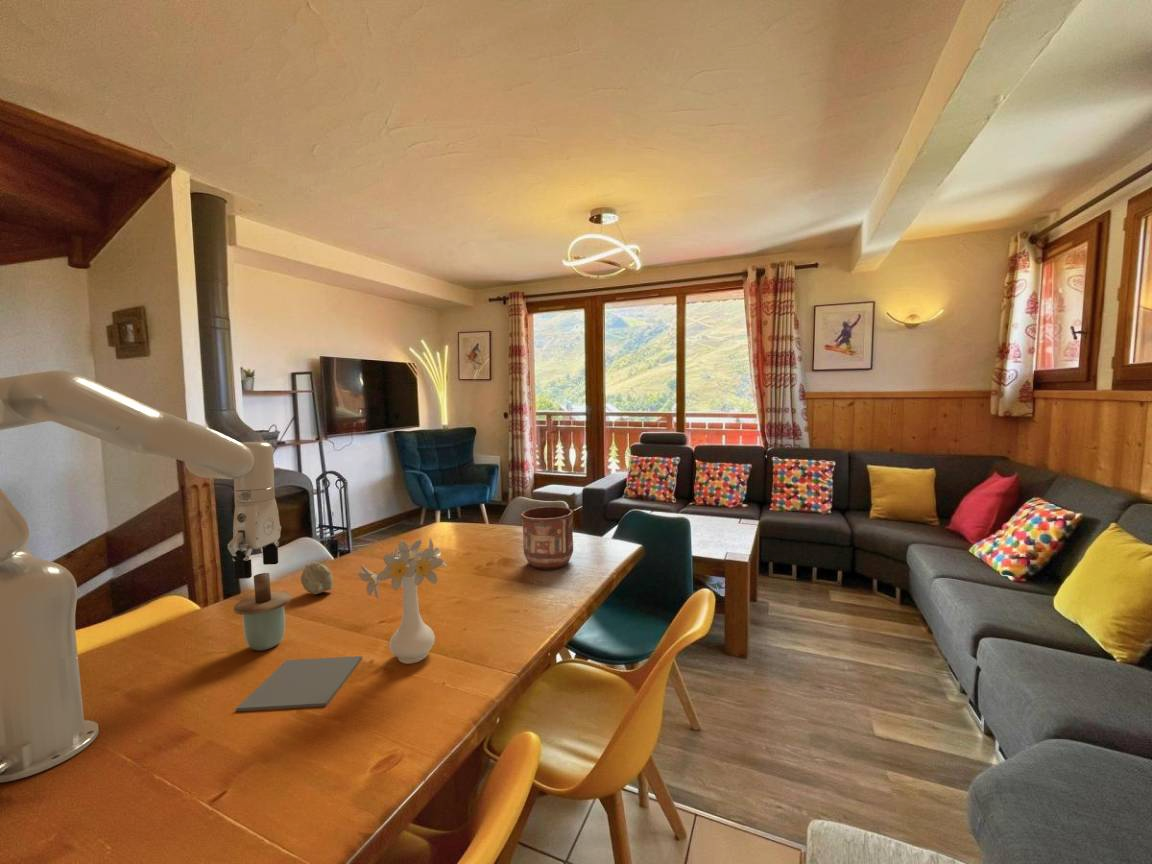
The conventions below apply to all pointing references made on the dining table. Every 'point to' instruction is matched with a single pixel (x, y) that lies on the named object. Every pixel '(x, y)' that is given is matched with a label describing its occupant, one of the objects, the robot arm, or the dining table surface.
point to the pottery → (548, 536)
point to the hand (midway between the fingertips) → (257, 570)
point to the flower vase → (408, 597)
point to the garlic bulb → (317, 578)
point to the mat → (301, 684)
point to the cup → (264, 629)
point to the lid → (262, 598)
